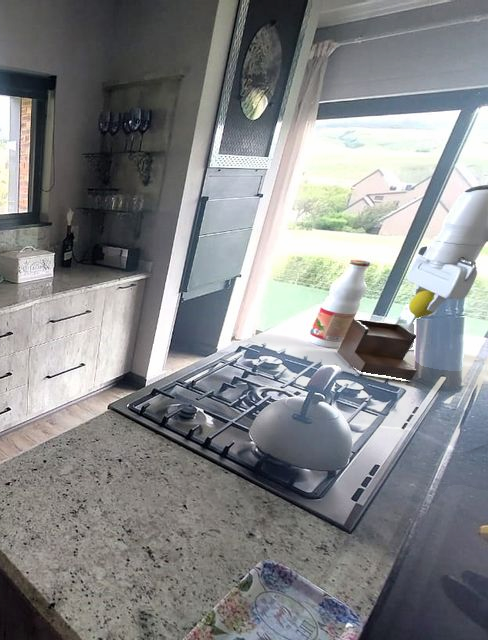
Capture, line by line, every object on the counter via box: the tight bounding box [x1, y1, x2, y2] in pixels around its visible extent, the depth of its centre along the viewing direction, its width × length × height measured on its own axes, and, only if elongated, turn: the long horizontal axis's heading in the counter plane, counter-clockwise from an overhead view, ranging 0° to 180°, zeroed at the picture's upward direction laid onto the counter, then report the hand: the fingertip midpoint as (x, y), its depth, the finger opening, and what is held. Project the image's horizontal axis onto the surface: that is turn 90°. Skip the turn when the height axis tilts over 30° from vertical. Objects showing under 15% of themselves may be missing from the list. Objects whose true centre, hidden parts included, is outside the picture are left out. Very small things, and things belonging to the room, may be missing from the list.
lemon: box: [408, 290, 435, 318], centre depth 109 cm, size 6×6×8 cm
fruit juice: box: [307, 259, 371, 349], centre depth 133 cm, size 9×9×28 cm
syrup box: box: [395, 303, 416, 352], centre depth 135 cm, size 6×6×14 cm
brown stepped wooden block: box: [337, 318, 418, 384], centre depth 122 cm, size 12×18×12 cm, turn 159°
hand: (422, 306), depth 109 cm, fingers closed on lemon, 5 cm apart
